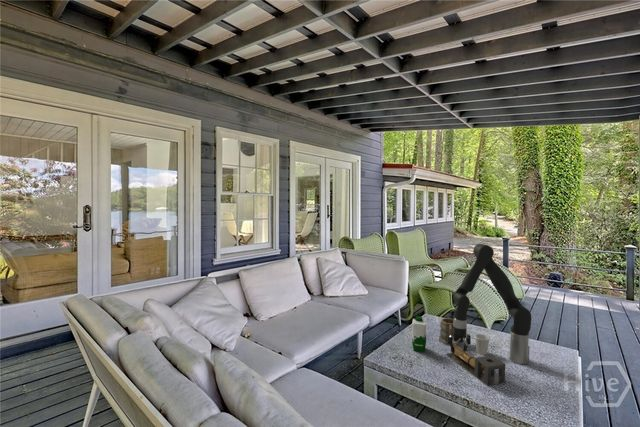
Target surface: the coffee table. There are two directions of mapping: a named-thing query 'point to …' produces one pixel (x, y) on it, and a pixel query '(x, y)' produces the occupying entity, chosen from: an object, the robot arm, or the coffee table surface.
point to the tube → (466, 357)
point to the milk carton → (419, 334)
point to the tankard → (446, 330)
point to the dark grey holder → (489, 370)
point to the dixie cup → (482, 343)
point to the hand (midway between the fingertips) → (458, 351)
